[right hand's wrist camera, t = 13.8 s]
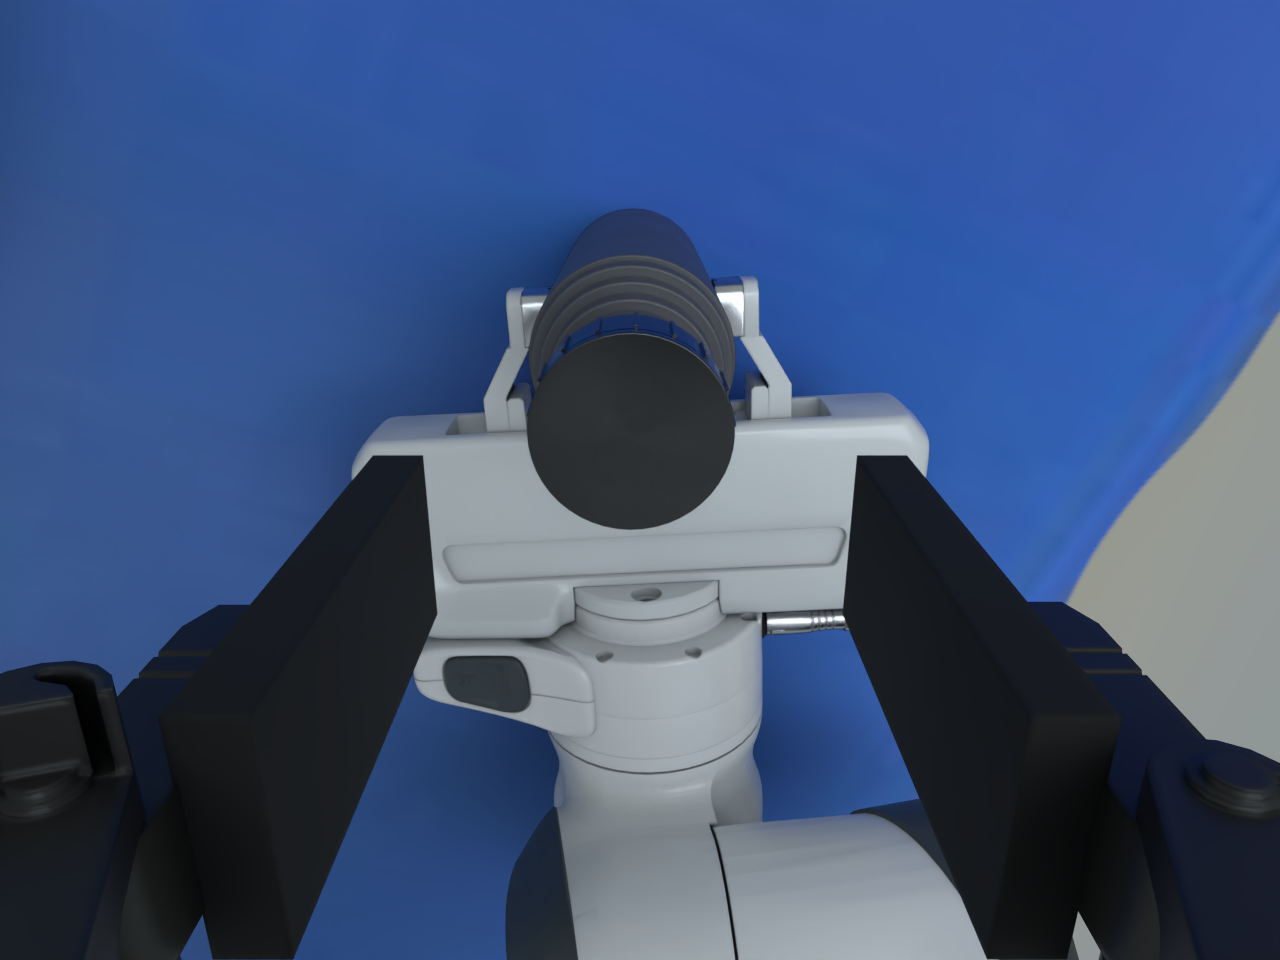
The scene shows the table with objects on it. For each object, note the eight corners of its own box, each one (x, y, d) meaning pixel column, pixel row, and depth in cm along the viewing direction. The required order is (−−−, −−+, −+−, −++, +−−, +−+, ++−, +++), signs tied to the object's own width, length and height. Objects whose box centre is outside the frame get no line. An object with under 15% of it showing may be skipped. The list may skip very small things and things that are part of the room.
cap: (524, 485, 21) (513, 518, 19) (544, 297, 19) (535, 314, 18) (709, 510, 21) (716, 544, 19) (744, 326, 19) (755, 346, 18)
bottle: (559, 335, 38) (485, 533, 20) (574, 198, 36) (509, 275, 18) (689, 353, 39) (738, 565, 20) (711, 219, 37) (789, 316, 18)
